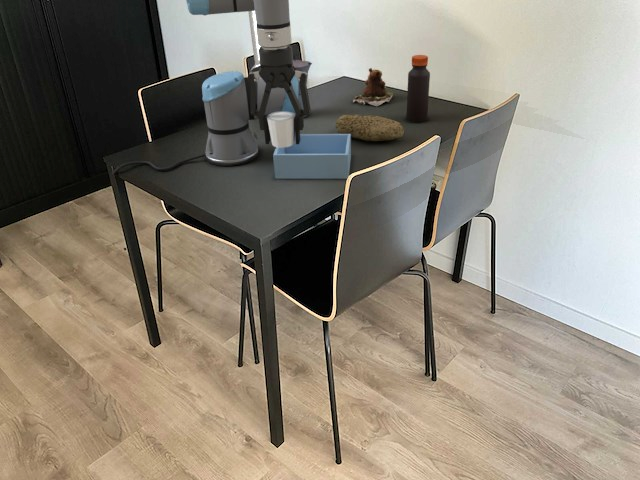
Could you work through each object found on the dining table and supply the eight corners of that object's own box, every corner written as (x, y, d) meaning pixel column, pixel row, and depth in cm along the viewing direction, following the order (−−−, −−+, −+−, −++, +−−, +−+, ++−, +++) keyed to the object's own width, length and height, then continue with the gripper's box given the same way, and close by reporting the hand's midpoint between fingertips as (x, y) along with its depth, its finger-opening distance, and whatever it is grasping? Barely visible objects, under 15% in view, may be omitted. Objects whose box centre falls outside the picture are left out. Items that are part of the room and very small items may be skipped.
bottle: (421, 114, 185) (424, 53, 174) (431, 120, 179) (435, 57, 169) (402, 117, 183) (405, 55, 172) (412, 124, 178) (415, 60, 167)
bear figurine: (401, 96, 201) (402, 62, 195) (378, 108, 192) (379, 73, 185) (370, 91, 209) (370, 58, 202) (346, 102, 199) (346, 67, 192)
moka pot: (321, 113, 190) (318, 54, 179) (282, 124, 183) (277, 62, 172) (306, 106, 196) (302, 49, 186) (268, 116, 189) (262, 57, 179)
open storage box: (275, 178, 148) (273, 155, 144) (283, 156, 160) (281, 134, 157) (348, 178, 146) (348, 154, 142) (351, 156, 158) (350, 133, 155)
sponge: (332, 141, 172) (380, 144, 157) (331, 115, 169) (379, 116, 155) (362, 136, 180) (409, 139, 165) (361, 112, 178) (409, 112, 163)
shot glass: (264, 146, 135) (261, 119, 131) (276, 136, 140) (274, 109, 136) (290, 150, 132) (288, 122, 129) (301, 139, 138) (299, 112, 134)
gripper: (227, 50, 122) (240, 148, 134) (317, 49, 119) (321, 148, 132) (235, 42, 128) (247, 136, 140) (320, 41, 126) (324, 136, 138)
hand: (283, 141), depth 136 cm, fingers closed on shot glass, 7 cm apart
